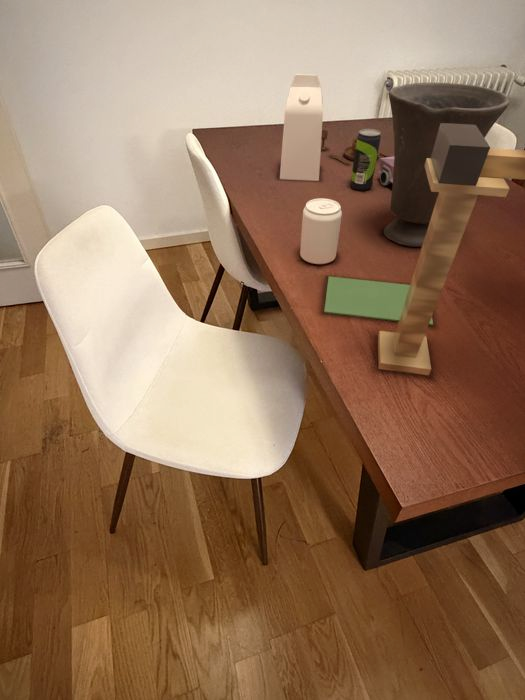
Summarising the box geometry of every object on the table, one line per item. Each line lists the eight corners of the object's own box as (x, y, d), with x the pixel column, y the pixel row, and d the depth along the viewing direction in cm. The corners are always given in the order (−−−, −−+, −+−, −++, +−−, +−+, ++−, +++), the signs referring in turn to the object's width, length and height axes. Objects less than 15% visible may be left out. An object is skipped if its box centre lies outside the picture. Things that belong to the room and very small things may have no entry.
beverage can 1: (293, 252, 92) (296, 202, 84) (322, 244, 95) (328, 194, 86) (312, 270, 87) (317, 217, 79) (342, 260, 90) (351, 209, 81)
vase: (472, 237, 97) (530, 93, 76) (422, 270, 87) (473, 114, 66) (397, 207, 109) (429, 75, 88) (345, 233, 99) (367, 91, 78)
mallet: (568, 167, 48) (587, 130, 45) (595, 194, 43) (618, 154, 40) (430, 158, 50) (440, 122, 47) (438, 183, 45) (450, 144, 42)
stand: (424, 342, 71) (493, 162, 49) (428, 375, 65) (510, 188, 44) (377, 336, 72) (426, 157, 50) (378, 369, 66) (433, 182, 45)
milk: (319, 166, 130) (328, 70, 112) (318, 180, 122) (328, 79, 104) (282, 165, 131) (285, 69, 113) (279, 179, 123) (282, 78, 105)
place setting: (350, 167, 130) (353, 147, 126) (315, 148, 143) (317, 130, 138) (391, 158, 136) (395, 139, 132) (354, 141, 149) (357, 123, 144)
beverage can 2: (375, 189, 118) (386, 133, 107) (357, 193, 116) (367, 136, 105) (362, 181, 122) (372, 127, 111) (345, 185, 120) (353, 130, 109)
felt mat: (426, 288, 82) (426, 286, 82) (432, 325, 74) (433, 324, 74) (328, 277, 85) (328, 276, 85) (323, 312, 76) (324, 311, 76)
